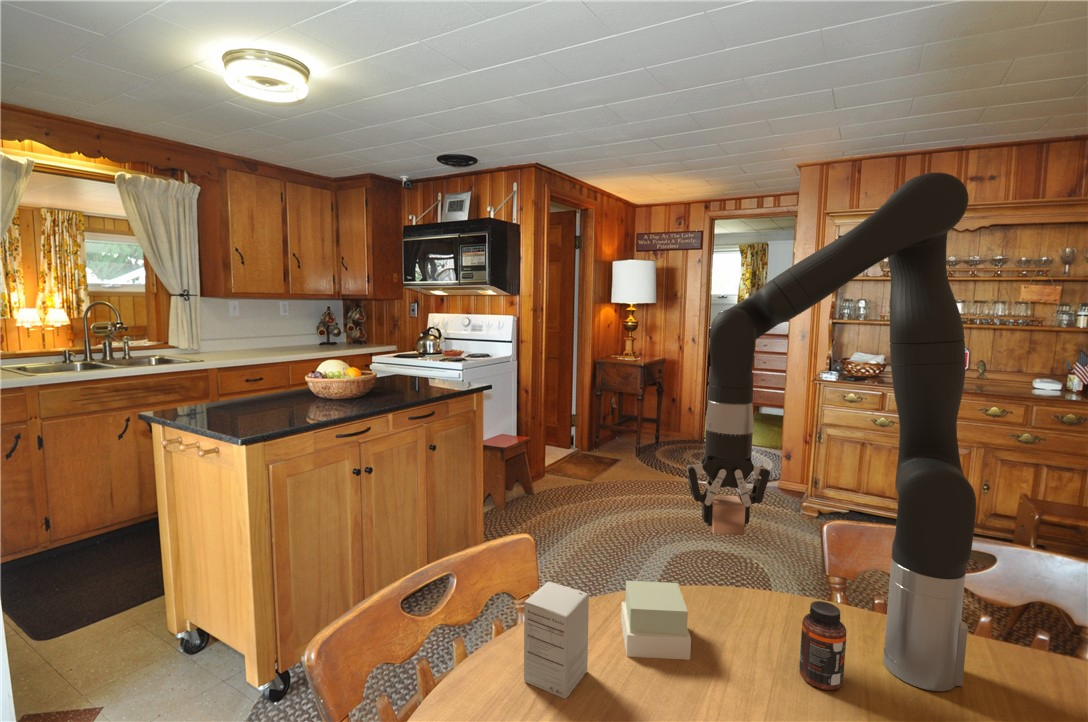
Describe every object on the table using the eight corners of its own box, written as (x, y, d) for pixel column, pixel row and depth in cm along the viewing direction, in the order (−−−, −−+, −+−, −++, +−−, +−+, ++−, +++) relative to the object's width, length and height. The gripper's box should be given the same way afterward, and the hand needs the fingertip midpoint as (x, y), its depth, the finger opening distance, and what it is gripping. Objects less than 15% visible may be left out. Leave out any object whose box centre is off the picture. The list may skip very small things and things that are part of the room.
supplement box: (547, 655, 86) (548, 579, 85) (588, 671, 83) (590, 592, 82) (521, 682, 80) (522, 600, 79) (565, 701, 76) (567, 615, 75)
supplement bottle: (848, 695, 78) (854, 621, 77) (804, 689, 80) (809, 616, 79) (835, 669, 84) (840, 599, 83) (794, 663, 85) (798, 595, 84)
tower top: (676, 604, 95) (677, 583, 95) (686, 635, 86) (687, 611, 86) (625, 602, 96) (625, 580, 95) (630, 632, 87) (630, 608, 87)
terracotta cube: (735, 523, 95) (736, 496, 95) (744, 535, 90) (745, 506, 90) (706, 522, 96) (707, 495, 95) (713, 534, 91) (714, 505, 90)
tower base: (677, 625, 96) (678, 604, 96) (689, 661, 86) (691, 638, 86) (621, 622, 96) (621, 601, 96) (626, 658, 87) (627, 635, 86)
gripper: (764, 424, 95) (760, 518, 96) (681, 422, 96) (678, 515, 97) (780, 433, 87) (775, 535, 89) (690, 431, 88) (686, 532, 90)
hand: (724, 524), depth 93 cm, fingers closed on terracotta cube, 5 cm apart
